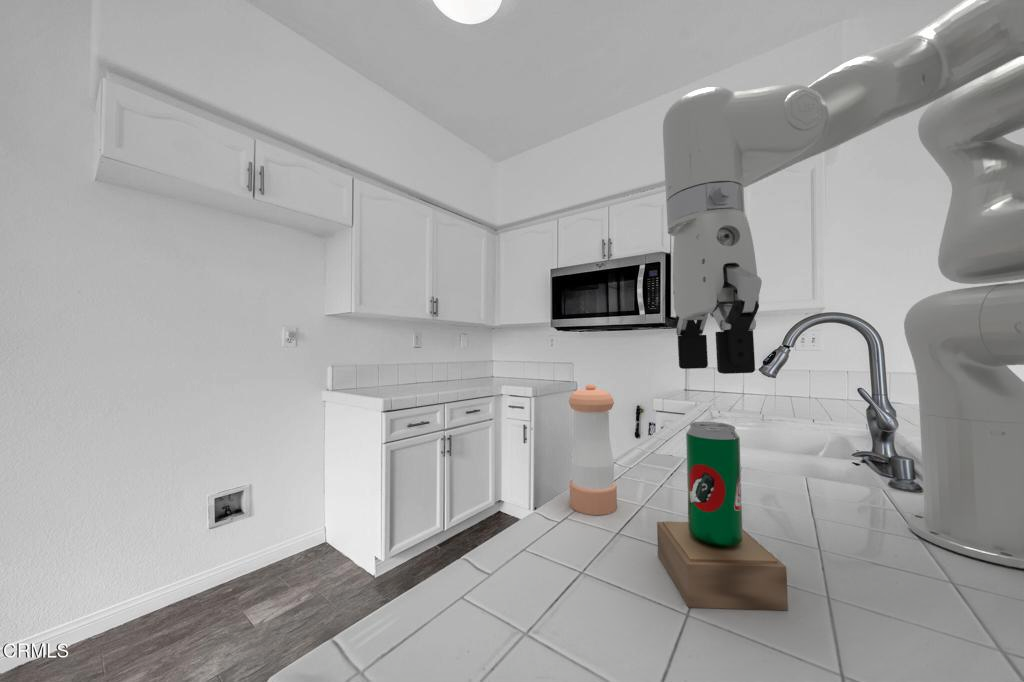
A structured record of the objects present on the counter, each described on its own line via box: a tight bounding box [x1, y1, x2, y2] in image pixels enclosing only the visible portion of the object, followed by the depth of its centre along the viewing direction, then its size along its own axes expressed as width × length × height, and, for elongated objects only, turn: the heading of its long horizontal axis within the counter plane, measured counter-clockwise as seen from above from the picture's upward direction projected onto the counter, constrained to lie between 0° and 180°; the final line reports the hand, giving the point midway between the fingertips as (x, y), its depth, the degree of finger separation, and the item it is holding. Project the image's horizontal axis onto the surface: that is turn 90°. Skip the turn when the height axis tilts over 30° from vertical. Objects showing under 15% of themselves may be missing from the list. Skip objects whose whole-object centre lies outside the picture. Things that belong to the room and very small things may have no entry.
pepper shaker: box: [568, 383, 618, 516], centre depth 59 cm, size 7×7×19 cm
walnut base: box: [656, 521, 789, 611], centre depth 40 cm, size 9×9×4 cm
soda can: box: [685, 421, 743, 548], centre depth 40 cm, size 5×5×12 cm
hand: (712, 370), depth 40 cm, fingers open, 9 cm apart
